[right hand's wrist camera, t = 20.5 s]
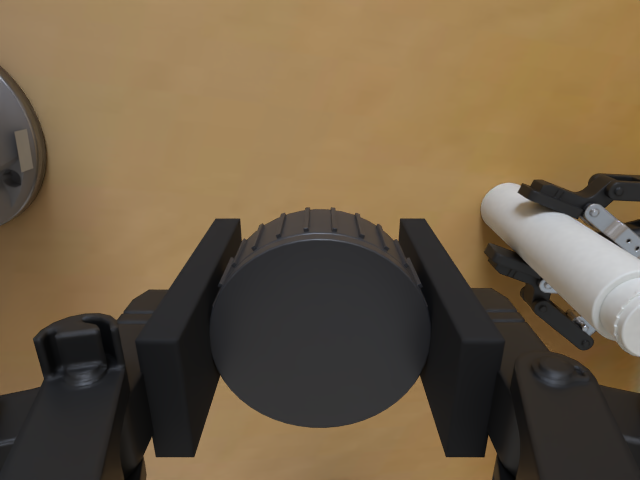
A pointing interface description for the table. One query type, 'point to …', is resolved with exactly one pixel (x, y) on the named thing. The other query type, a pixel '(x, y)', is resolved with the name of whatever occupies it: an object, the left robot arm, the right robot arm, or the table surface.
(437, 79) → the table surface
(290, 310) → the lid
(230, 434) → the table surface
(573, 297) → the white cylinder
